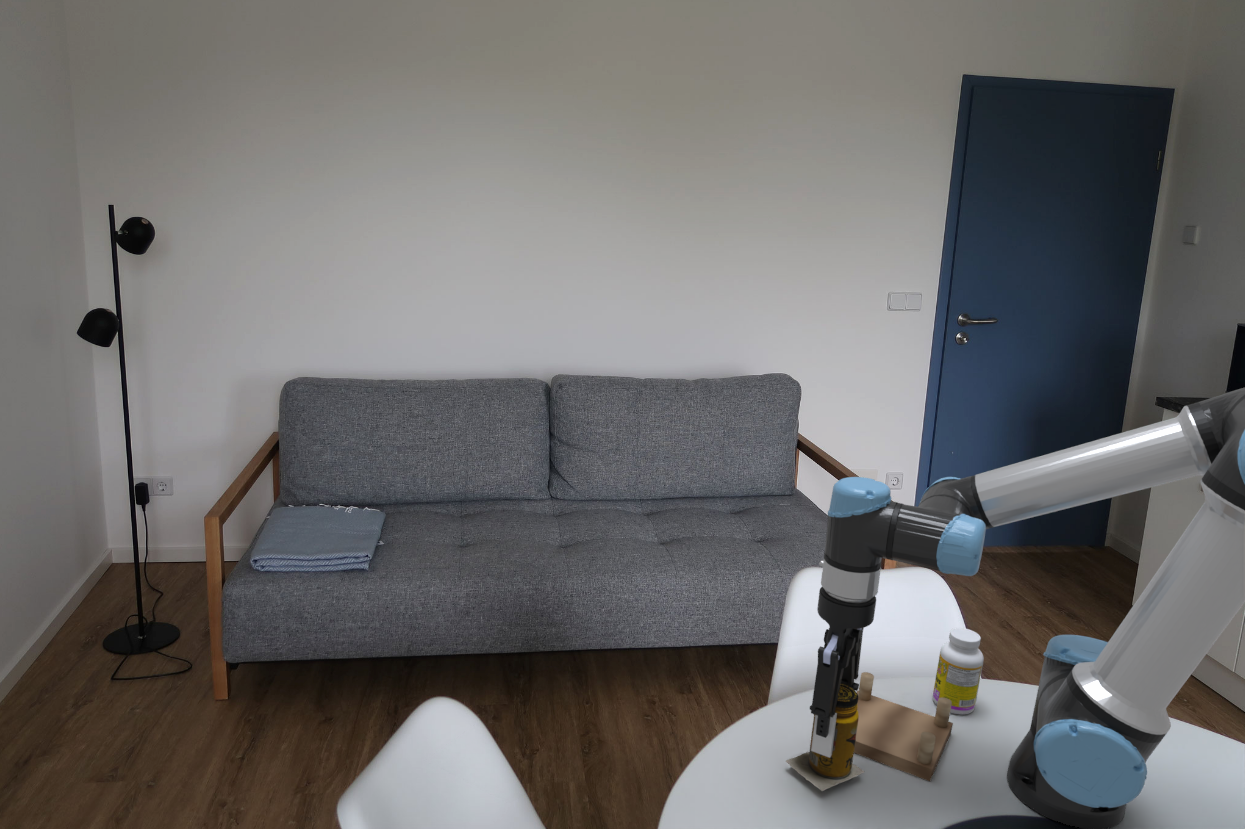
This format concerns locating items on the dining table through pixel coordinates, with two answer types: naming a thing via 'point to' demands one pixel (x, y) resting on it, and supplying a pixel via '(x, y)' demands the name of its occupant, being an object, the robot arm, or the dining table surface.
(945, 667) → the supplement bottle
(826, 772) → the condiment
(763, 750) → the dining table surface
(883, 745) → the peg holder
